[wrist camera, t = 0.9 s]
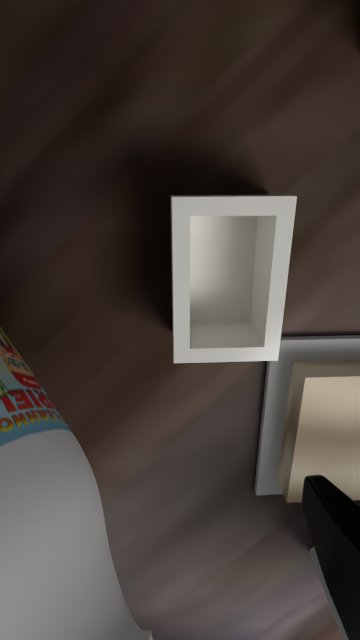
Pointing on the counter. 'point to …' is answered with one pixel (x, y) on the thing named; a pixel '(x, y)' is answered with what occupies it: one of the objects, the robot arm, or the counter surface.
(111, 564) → the milk bottle
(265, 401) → the mat
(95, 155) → the counter surface
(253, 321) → the dish
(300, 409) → the board
